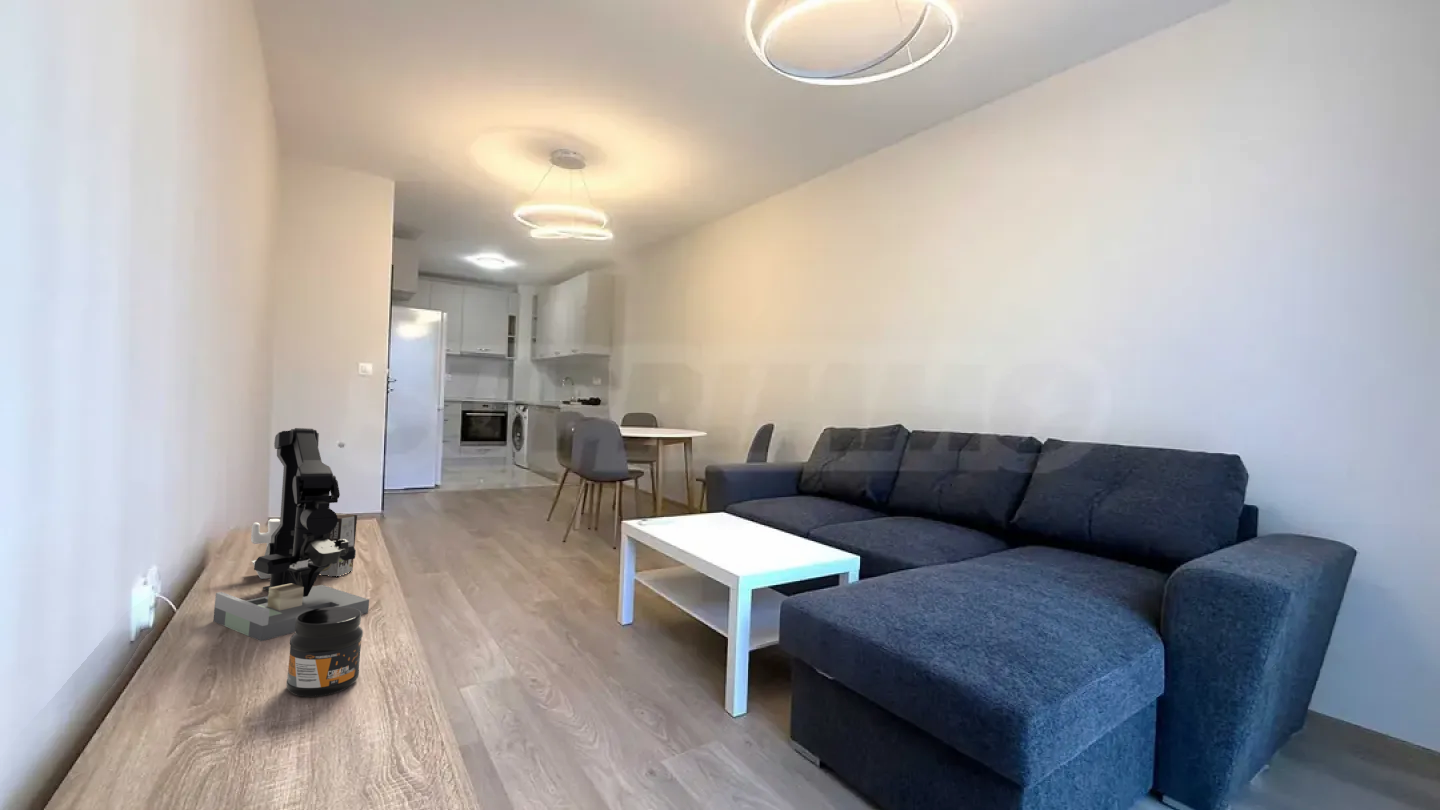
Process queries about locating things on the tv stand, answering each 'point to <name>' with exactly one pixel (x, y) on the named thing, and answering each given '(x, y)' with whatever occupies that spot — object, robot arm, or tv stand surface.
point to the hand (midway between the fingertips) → (304, 596)
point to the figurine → (263, 538)
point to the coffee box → (341, 531)
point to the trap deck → (272, 622)
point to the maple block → (285, 596)
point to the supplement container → (324, 651)
